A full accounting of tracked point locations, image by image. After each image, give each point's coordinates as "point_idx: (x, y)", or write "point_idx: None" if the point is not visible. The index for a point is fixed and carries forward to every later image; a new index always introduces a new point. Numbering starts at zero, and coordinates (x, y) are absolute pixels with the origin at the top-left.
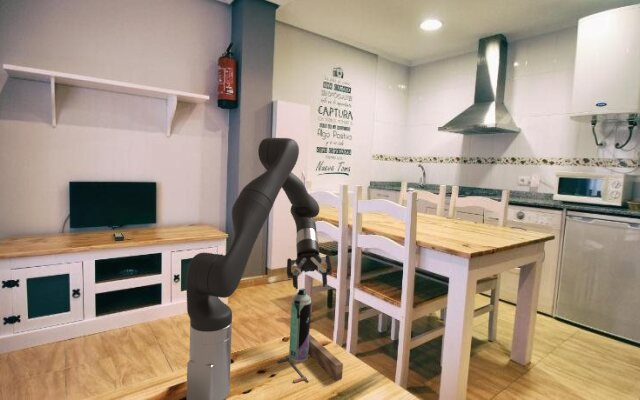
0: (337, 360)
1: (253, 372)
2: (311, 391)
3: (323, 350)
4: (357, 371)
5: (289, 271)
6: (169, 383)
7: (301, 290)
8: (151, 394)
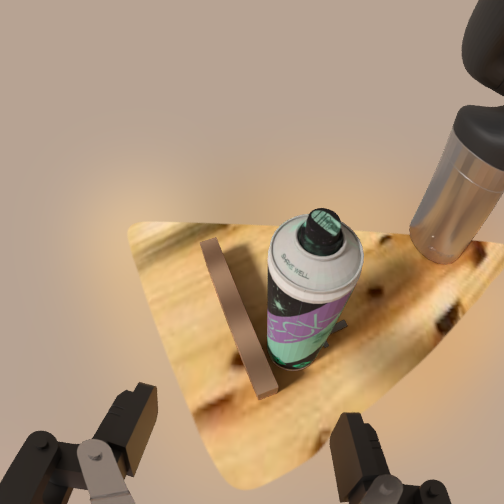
0: (207, 254)
1: (389, 288)
2: (274, 232)
3: (231, 296)
4: (164, 281)
5: (430, 500)
6: (490, 262)
7: (326, 209)
8: (493, 242)
